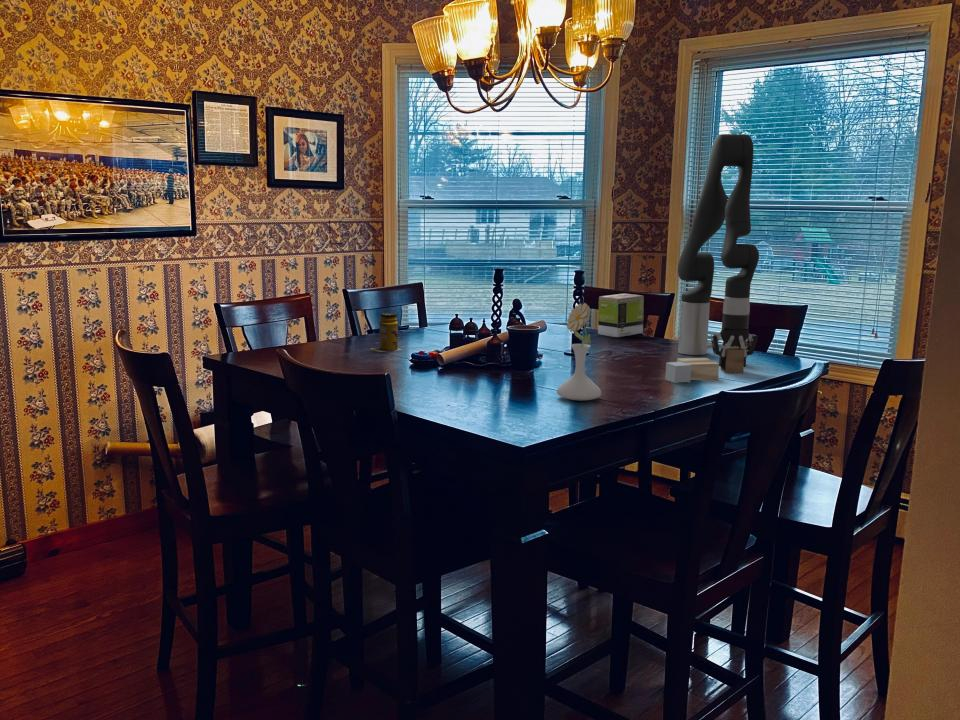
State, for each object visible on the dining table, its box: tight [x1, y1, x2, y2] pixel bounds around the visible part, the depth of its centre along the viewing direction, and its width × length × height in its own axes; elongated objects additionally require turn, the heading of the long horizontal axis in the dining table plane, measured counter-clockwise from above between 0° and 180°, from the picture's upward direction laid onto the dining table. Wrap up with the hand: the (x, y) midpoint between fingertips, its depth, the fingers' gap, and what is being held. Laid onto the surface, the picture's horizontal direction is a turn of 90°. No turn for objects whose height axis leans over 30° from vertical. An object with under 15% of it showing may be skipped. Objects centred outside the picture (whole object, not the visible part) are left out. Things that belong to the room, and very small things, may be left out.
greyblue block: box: [664, 361, 691, 384], centre depth 236 cm, size 5×5×5 cm
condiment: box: [369, 312, 403, 353], centre depth 278 cm, size 7×8×12 cm
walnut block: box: [720, 347, 745, 374], centre depth 250 cm, size 5×5×7 cm
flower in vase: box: [556, 302, 603, 402], centre depth 211 cm, size 13×11×25 cm
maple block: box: [676, 357, 720, 381], centre depth 241 cm, size 9×9×5 cm
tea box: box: [597, 293, 645, 338], centre depth 316 cm, size 15×10×15 cm, turn 130°
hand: (731, 368), depth 250 cm, fingers closed on walnut block, 5 cm apart
